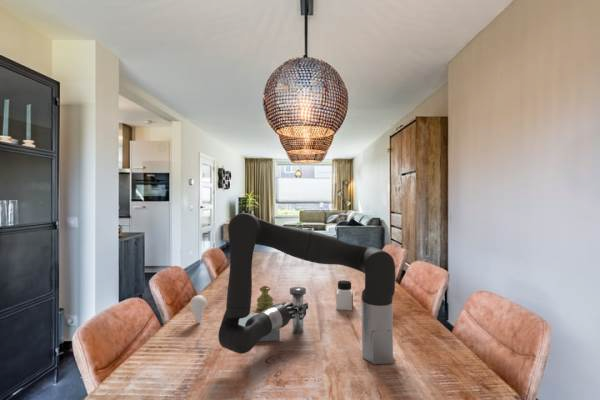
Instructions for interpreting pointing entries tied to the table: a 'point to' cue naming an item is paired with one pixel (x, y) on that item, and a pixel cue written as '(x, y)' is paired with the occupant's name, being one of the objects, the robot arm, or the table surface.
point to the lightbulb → (198, 307)
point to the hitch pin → (297, 301)
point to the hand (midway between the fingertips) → (302, 304)
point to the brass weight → (264, 299)
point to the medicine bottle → (344, 296)
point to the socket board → (268, 337)
